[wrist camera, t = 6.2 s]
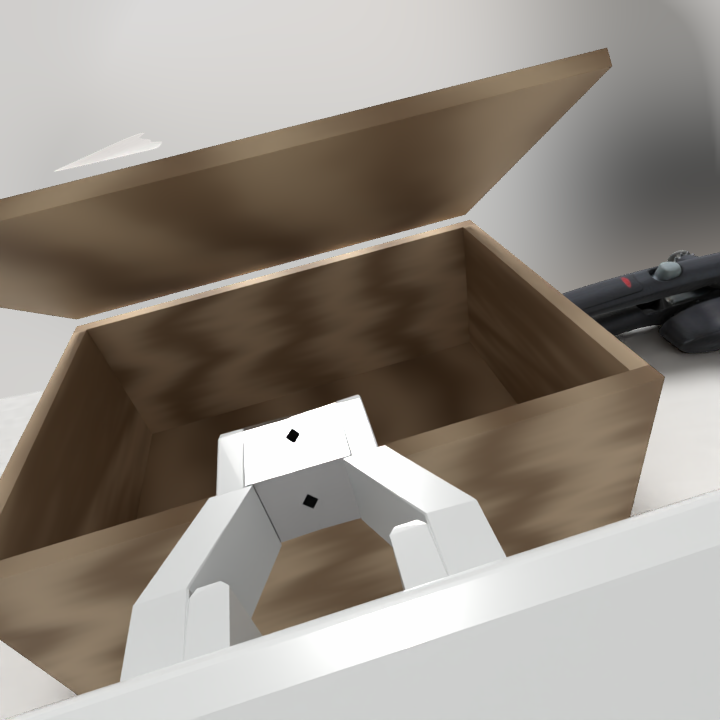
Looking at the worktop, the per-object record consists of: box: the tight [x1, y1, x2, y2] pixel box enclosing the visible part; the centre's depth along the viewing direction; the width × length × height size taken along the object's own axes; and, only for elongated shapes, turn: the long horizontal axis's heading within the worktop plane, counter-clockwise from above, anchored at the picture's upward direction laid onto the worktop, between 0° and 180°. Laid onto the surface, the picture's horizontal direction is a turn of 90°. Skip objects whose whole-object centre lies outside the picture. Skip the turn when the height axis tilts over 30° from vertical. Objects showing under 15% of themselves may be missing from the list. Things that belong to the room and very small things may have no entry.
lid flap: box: [0, 48, 612, 319], centre depth 23 cm, size 25×16×1 cm
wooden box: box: [0, 220, 665, 695], centre depth 27 cm, size 26×18×10 cm
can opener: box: [562, 250, 720, 353], centre depth 34 cm, size 18×7×6 cm, turn 91°
